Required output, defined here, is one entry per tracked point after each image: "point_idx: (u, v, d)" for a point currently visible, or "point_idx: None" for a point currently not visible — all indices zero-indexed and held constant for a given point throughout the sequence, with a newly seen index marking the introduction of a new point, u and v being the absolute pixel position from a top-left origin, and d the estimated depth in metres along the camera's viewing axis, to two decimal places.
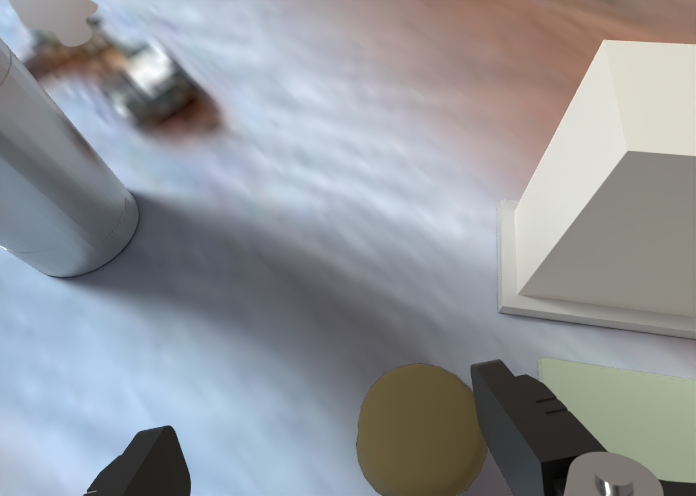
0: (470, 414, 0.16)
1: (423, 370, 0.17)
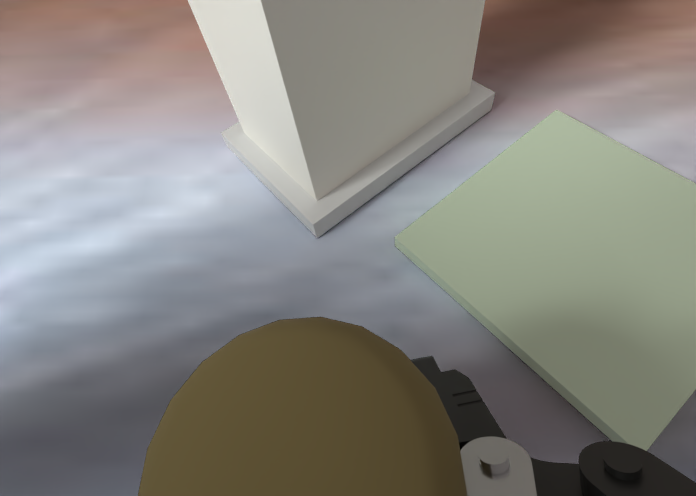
0: (348, 353, 0.06)
1: (205, 368, 0.07)
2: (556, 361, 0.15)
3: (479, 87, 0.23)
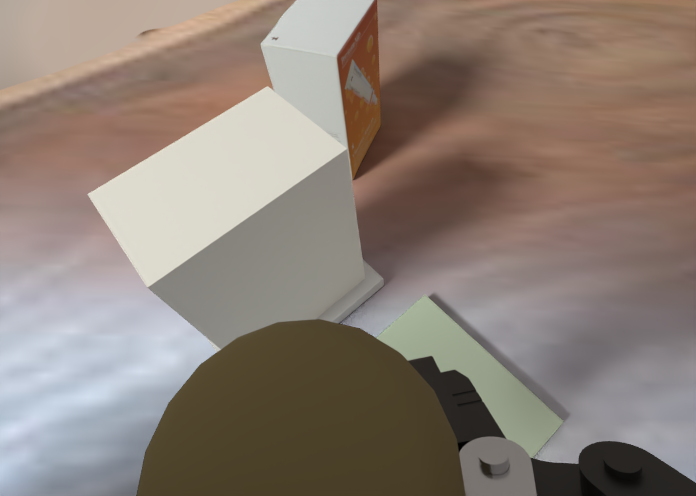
0: (346, 356, 0.06)
1: (203, 370, 0.07)
2: None
3: (373, 273, 0.32)
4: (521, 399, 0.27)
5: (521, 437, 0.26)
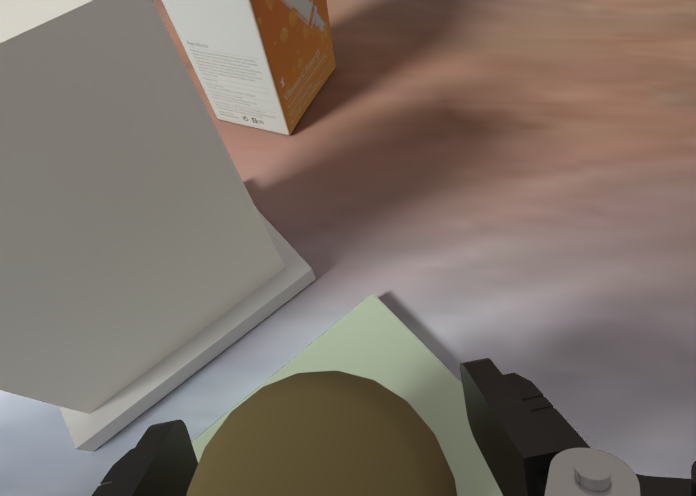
0: (360, 411, 0.07)
1: (236, 421, 0.08)
2: None
3: (297, 260, 0.21)
4: None
5: None
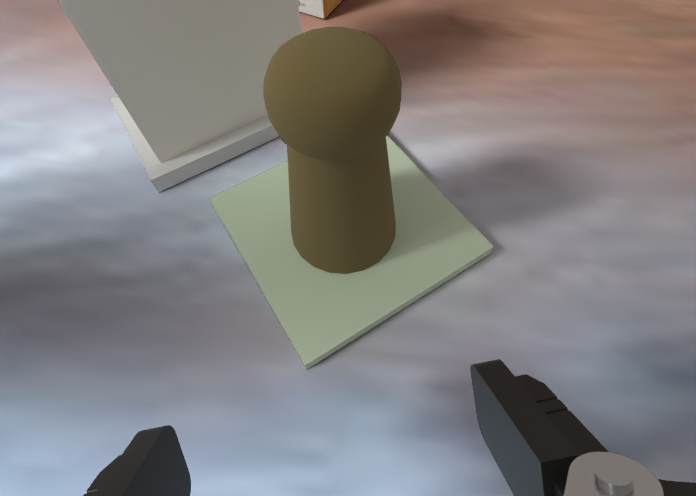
0: (360, 32, 0.15)
1: (297, 35, 0.15)
2: (279, 299, 0.21)
3: None
4: (452, 221, 0.23)
5: (442, 255, 0.22)
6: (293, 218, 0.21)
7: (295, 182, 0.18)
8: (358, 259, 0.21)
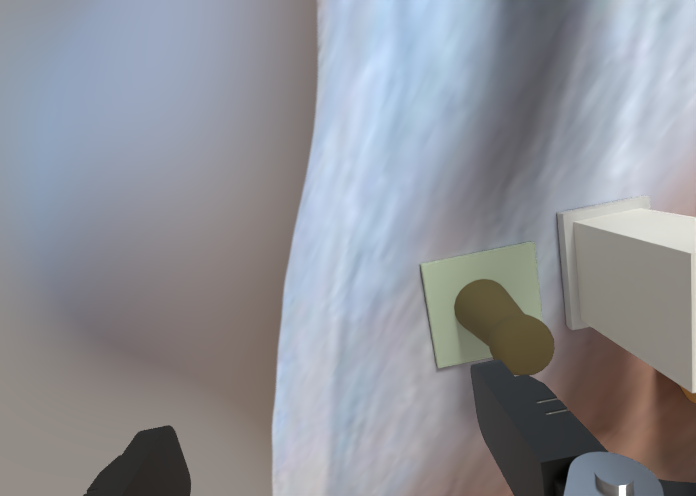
0: (538, 369, 0.34)
1: (552, 344, 0.33)
2: (457, 263, 0.43)
3: (580, 326, 0.44)
4: (459, 356, 0.45)
5: (444, 344, 0.45)
6: (491, 289, 0.41)
7: (499, 305, 0.38)
8: (458, 308, 0.43)
